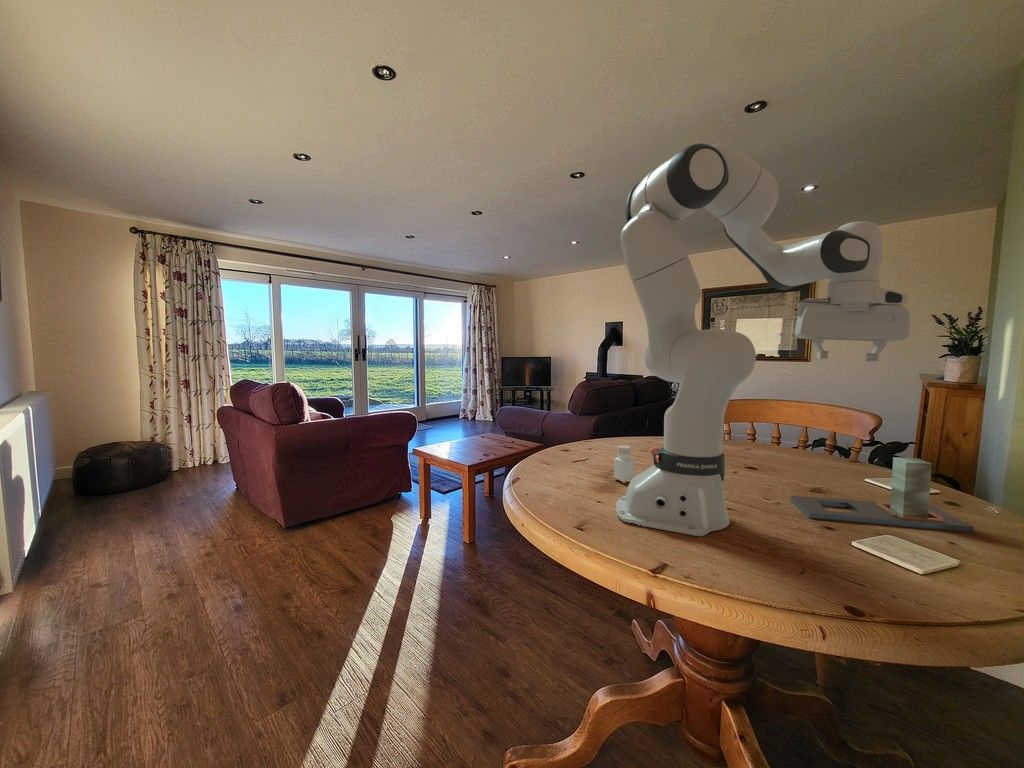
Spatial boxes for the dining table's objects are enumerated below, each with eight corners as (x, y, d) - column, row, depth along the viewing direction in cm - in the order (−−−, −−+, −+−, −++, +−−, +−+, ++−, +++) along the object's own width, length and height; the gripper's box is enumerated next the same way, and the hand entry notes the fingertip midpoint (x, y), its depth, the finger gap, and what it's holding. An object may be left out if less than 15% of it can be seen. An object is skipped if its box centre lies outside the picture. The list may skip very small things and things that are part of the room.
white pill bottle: (634, 482, 104) (634, 447, 104) (622, 484, 103) (622, 449, 102) (625, 478, 108) (625, 444, 107) (613, 480, 107) (613, 445, 106)
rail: (809, 518, 80) (809, 511, 80) (790, 500, 90) (790, 494, 90) (973, 532, 73) (974, 525, 73) (933, 511, 82) (934, 504, 82)
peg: (902, 521, 78) (906, 462, 77) (889, 513, 82) (893, 457, 81) (927, 523, 77) (931, 463, 76) (913, 515, 81) (917, 458, 80)
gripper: (804, 294, 87) (799, 356, 87) (918, 295, 81) (912, 361, 82) (792, 300, 93) (787, 358, 93) (897, 302, 88) (892, 363, 88)
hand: (846, 360), depth 87 cm, fingers open, 8 cm apart
